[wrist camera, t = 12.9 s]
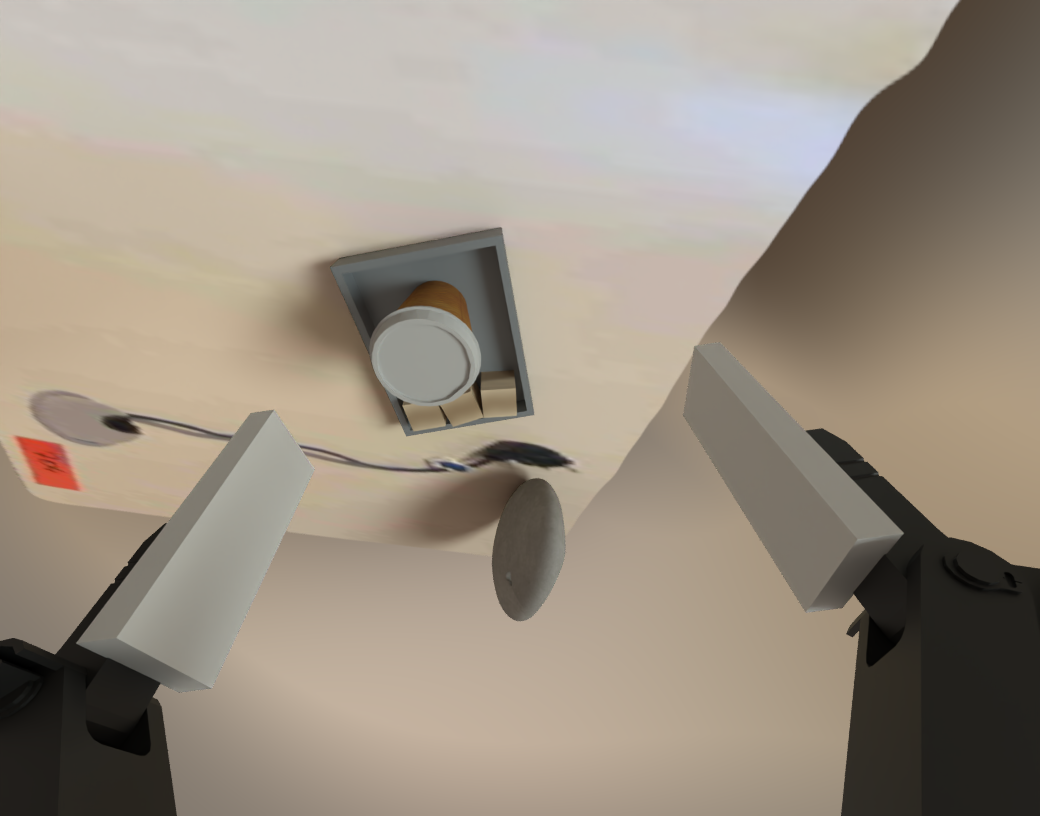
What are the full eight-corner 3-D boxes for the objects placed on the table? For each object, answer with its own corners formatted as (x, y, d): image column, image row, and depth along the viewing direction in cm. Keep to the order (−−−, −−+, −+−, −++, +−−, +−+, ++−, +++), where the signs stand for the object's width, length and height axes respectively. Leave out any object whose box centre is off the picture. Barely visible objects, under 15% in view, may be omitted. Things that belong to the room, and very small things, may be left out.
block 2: (441, 383, 48) (438, 402, 45) (471, 373, 48) (470, 391, 45) (455, 407, 51) (453, 426, 48) (483, 398, 50) (483, 417, 47)
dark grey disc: (518, 531, 68) (527, 647, 53) (480, 523, 66) (477, 642, 51) (567, 459, 59) (594, 577, 44) (524, 447, 57) (537, 567, 42)
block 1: (408, 386, 48) (402, 405, 45) (439, 380, 48) (436, 399, 45) (418, 411, 51) (413, 431, 48) (448, 406, 51) (445, 426, 47)
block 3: (481, 372, 48) (480, 390, 45) (513, 370, 48) (515, 388, 45) (484, 398, 50) (483, 417, 47) (515, 396, 50) (516, 415, 47)
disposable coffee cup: (412, 355, 46) (393, 419, 36) (378, 276, 40) (344, 327, 31) (491, 338, 45) (492, 399, 36) (468, 255, 39) (462, 300, 30)
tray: (339, 258, 39) (330, 267, 37) (501, 227, 39) (502, 235, 36) (410, 421, 52) (406, 436, 50) (532, 400, 52) (534, 414, 49)
